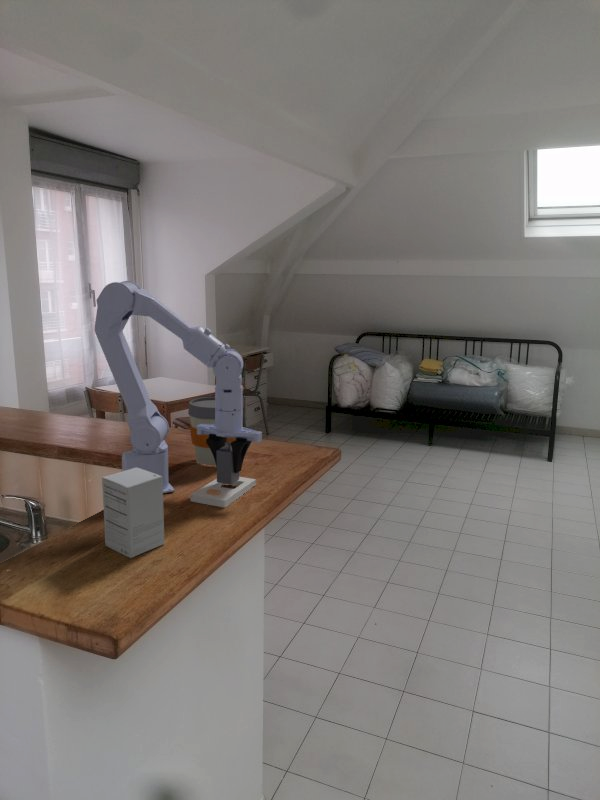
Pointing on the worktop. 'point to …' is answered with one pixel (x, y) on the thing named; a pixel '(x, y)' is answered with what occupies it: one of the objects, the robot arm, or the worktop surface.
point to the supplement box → (133, 511)
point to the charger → (226, 465)
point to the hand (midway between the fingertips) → (229, 470)
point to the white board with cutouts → (222, 492)
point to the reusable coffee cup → (202, 414)
